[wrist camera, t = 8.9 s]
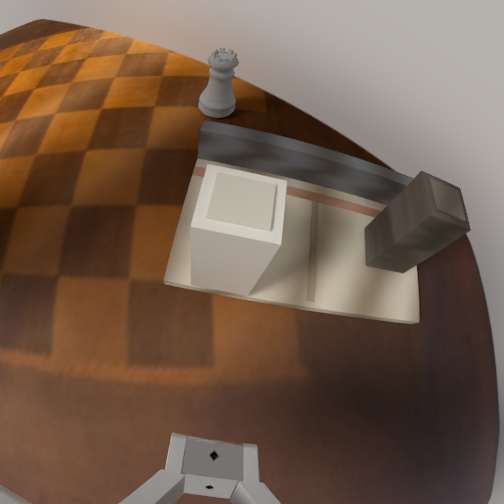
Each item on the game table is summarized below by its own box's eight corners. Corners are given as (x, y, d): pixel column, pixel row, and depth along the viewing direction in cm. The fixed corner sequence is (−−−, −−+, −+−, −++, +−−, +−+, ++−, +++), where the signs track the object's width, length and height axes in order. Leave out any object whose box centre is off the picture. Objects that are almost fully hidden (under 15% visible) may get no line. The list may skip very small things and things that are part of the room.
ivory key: (191, 284, 23) (190, 224, 14) (201, 239, 25) (207, 161, 16) (247, 295, 24) (282, 243, 15) (254, 249, 25) (288, 178, 16)
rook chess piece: (217, 93, 35) (225, 41, 27) (242, 110, 34) (254, 56, 27) (190, 106, 33) (193, 51, 26) (215, 125, 32) (223, 68, 25)
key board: (164, 284, 24) (158, 262, 20) (200, 154, 30) (203, 119, 25) (413, 324, 27) (446, 312, 22) (404, 207, 33) (428, 184, 28)
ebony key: (365, 265, 27) (432, 213, 18) (364, 227, 28) (422, 169, 20) (402, 273, 27) (472, 229, 18) (400, 237, 29) (461, 187, 20)
